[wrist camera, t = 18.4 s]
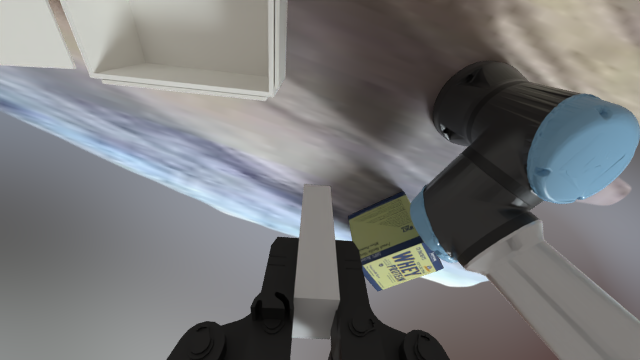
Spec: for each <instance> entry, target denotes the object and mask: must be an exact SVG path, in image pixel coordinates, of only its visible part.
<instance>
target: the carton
mask: <svg viewBox="0 0 640 360" xmlns="http://www.w3.org/2000/svg"><path fill="white" fill-rule="evenodd" d="M60 3H61V5H62V8H63V10H64V13H65V15H66V18H67V20H68V23H69V25H70V28H71V30H72V33H73V35H74V38H75V40H76V43H77V45H78V48H79V50H80V53H81V55H82V58H83V60H84V63H85V65H86V68H87V70H88V73H89V75H90V78H99V79H102V82H103V84H111V85H120V86H130V87H139V88H148V89H158V90H167V91H177V92H186V93H196V94H205V95H214V96H224V97H233V98H243V99H252V100H262V101H266V100H267V98H268V97H274V96H275V94H276V92H277V91H278V89H279V88H280V86H281V84H282V82H283V81H284V79H285V77H286V40H287V3H288V0H60Z"/></svg>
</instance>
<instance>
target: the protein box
mask: <svg viewBox="0 0 640 360" xmlns="http://www.w3.org/2000/svg"><path fill="white" fill-rule="evenodd" d="M410 204H411V203H410V201H409V199H408V198H407V196H406V194H405V192H404V191H403V192H401V193H398V194H396V195H394V196H392V197H389V198H387V199H385V200H383V201H381V202H378V203H376V204H374V205H372V206H370V207H367V208H365V209H363V210H361V211H358V212H356V213H354V214H352V215H350V216H348V219H349V224H350V230H351V236H352V241H353V242H354V243H355V245H356V246H357V248H358V249H359V252H360V257H361V263H362V268H363V273H364V276H365V277H366V278H367V280H368V281H369V282H370V283H371V284H372V286H373V287H374V288H375V289H376V290H377V291H380V290H383V289H386V288H389V287H391V286H394V285H397V284H400V283H403V282H406V281H409V280H412V279H414V278H418V277H420V276H423V275H426V274H429V273H432V272H435V271H438V270H441V269H443V268H444V267H443V265H442V263H441V261H440V259H439V257H438V256H437V255H436V253H435V252H434V251H432V250H431V249H430V248H429V247H428V246H427V245H426V244H425V243H424V241H423V240H422V238H421V237H420V235H419V234H418V232H417V231H416V229H415V227H414V225H413V222H412V220H411V216H410Z"/></svg>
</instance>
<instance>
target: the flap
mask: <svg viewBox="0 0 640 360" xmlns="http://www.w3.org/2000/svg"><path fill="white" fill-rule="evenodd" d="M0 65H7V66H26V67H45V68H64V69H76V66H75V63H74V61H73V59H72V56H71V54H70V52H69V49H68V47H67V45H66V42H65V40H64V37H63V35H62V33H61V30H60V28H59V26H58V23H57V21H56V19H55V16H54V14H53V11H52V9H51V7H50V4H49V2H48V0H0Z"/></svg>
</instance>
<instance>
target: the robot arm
mask: <svg viewBox="0 0 640 360" xmlns="http://www.w3.org/2000/svg"><path fill="white" fill-rule="evenodd" d="M433 120H434V124H435V127H436V129H437V131H438V132H439V133H440V134H441V135H442V136H443V137H444V138H446V139H447V140H448V141H450V142H452V143H455V144H458V145H463V146H468V147H467V148H466V149H465V150H464V151H463V152H462V153H461V154H460V155H459V156H458V157H457V158H456V159H455V160H454V161H452V162H451V163H450V164H449V165H448V166H447V167H446V168H445V169H444V170H443V171H442V172H441V173H440V174H439V175H437V176H436V177H435V178H434V179H433V180H432V181H431V182H430V183H429V184H427V185H425V186H424V187H423V189H422V191H421V192H420V193H419V194H418V195H417V196H416V197H415V198H414V199H413V201H412V202H411V204H410V216H411V220H412V222H413V225H414V227H415V229H416V231H417V232H418V234H419V235H420V237H421V238H422V240H423V241H424V243H425V244H426V245H427V246H428V247H429V248H430V249H431V250H432V251H434V252H435V253H436V255H437V256H438V257H439V258H441V259H442V260H444V261H447V262H450V263H453V262H459V263H460V264H461V265H462V266H463V267H464V269H465V270H467V271H471V272H476V273H480V274H482V275H484V276H486V277H487V279H488V280H489V281H490V282H491V283H492V284H493V285H494V286H495V288H496V289H497V290H498V291H499V292H500V293H501V294H502V295H503V297H504V298H505V299H506V300H507V301H508V302H509V303H510V304H511V306H512V307H513V308H514V309H515V310H516V311H517V312H518V313H519V315H521V317H522V318H523V319H524V320H525V321H526V322H527V324H528V325H529V326H530V327H531V328H532V329H533V330H534V331H535V332H536V334H537V335H538V336H539V337H540V338H541V339H542V340H543V342H544V343H545V344H546V345H547V346H548V347H549V348H550V349H551V351H552V352H553V353H554V354H555V355H556V356H557V357H558V358H559V360H640V321H639V320H638V319H637V318H635V317H634V316H633V315H632V314H631V313H629V312H628V311H627V310H626V309H625V308H624V307H622V306H621V305H620V304H619V303H618V302H617V301H615V300H614V299H613V298H612V297H611V296H610V295H608V294H607V293H606V292H605V291H604V290H603V289H601V288H600V287H599V286H598V285H597V284H595V283H594V282H593V281H592V280H591V279H590V278H588V277H587V276H586V275H585V274H584V273H582V272H581V271H580V270H579V269H578V268H577V267H575V266H574V265H573V264H572V263H571V262H569V261H568V260H567V259H566V258H565V257H564V256H562V255H561V254H560V253H559V252H558V251H556V250H555V249H554V248H553V247H552V246H551V245H550V244H548V243H547V242H546V241H545V239H544V238H543V222H542V221H541V220H540V219H538V218H537V217H536V216H535V215H533V214H532V213H531V212H530V210H531V209H532V208H534V207H535V206H536V205H538V204H539V203H541V202H542V201H544V200H545V201H549V202H553V203H557V204H565V203H572V202H575V200H576V199H578V200H583V199H586V198H588V197H590V196H592V195H594V194H595V193H597V192H599V191H600V190H602V189H603V188H605V187H606V186H607V185H609V184H610V183H611V182H612V181H613V180H615V179H616V178H617V177H618V176H619V175H620V174H621V172H622V171H623V170H624V169H625V168H626V166H627V165H628V164H629V162H630V161H631V159H632V157H633V156H634V152H635V149H636V147H637V145H638V143H639V137H640V128H639V124H638V121H637V119H636V117H635V116H634V115H633V114H632V113H631V112H630V111H629V110H628V109H626V108H624V107H622V106H620V105H617V104H614V103H610V102H607V101H604V100H601V99H600V98H598V97H596V96H594V95H591V94H580V93H576V92H571V91H567V90H563V89H558V88H554V87H549V86H545V85H541V84H536V83H532V82H529V81H528V80H527V79H526V78H525V77H524V76H523V75H522V74H521V73H520V72H519V71H518V70H517V69H516V68H514V67H513V66H511V65H508V64H506V63H501V62H496V61H483V62H478V63H475V64H472V65H470V66H468V67H466V68H464V69H462V70H461V71H459V72H458V73H457V74H455V75H454V76H453V77H452V78H451V79H450V80H449V81H448V82H447V83H446V84H445V86H444V87H443V88H442V90H441V92H440V93H439V95H438V97H437V100H436V102H435V106H434V111H433ZM330 335H331V351H330V354H329V358H328V360H450V359H449V358H448V356H447V354H446V352H445V351H444V349H443V347H442V346H441V345H440V343H439V342H438V341H437V340H436V339H435V338H434V337H433V336H431V335H430V334H429V333H427V332H424V331H422V330H412V331H411V332H409V333H407V334H406V333H403V332H401V331H398V330H396V329H393V328H391V327H389V326H387V325H385V324H383V323H382V322H381V321H380V320H378V319H377V317H376V316H375V315H374V313H373V312H372V310H371V308H370V304H369V299H368V295H367V289H366V284H365V278H364V273H363V268H362V263H361V257H360V252H359V249H358V248H357V246H356V245H355V243H354V242H353V241H342V240H335V234H334V222H333V209H332V197H331V186H322V185H310V184H304V191H303V202H302V213H301V224H300V235H299V238H288V237H277V239H276V240H275V241H274V243H273V244H272V245H271V249H270V254H269V259H268V263H267V268H266V272H265V277H264V281H263V286H262V290H261V293H260V294H259V295H258V296H257V297H256V298H255V299H254V301H253V303H252V305H251V313H250V314H249V315H248V316H246V317H245V318H243V319H241V320H238V321H235V322H232V323H229V324H225V325H222V326H220V325H219V324H217V323H215V322H209V321H206V322H202V323H199V324H196V325H195V326H193V327H192V328H190V329H189V330H188V331H187V332H186V333H185V334H184V335H183V336H182V338H181V339H180V340H179V342H178V344H177V345H176V346H175V348H174V349H173V351H172V352H171V354H170V355H169V357H168V358H167V360H290V354H291V341H292V338H316V339H330Z"/></svg>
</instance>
